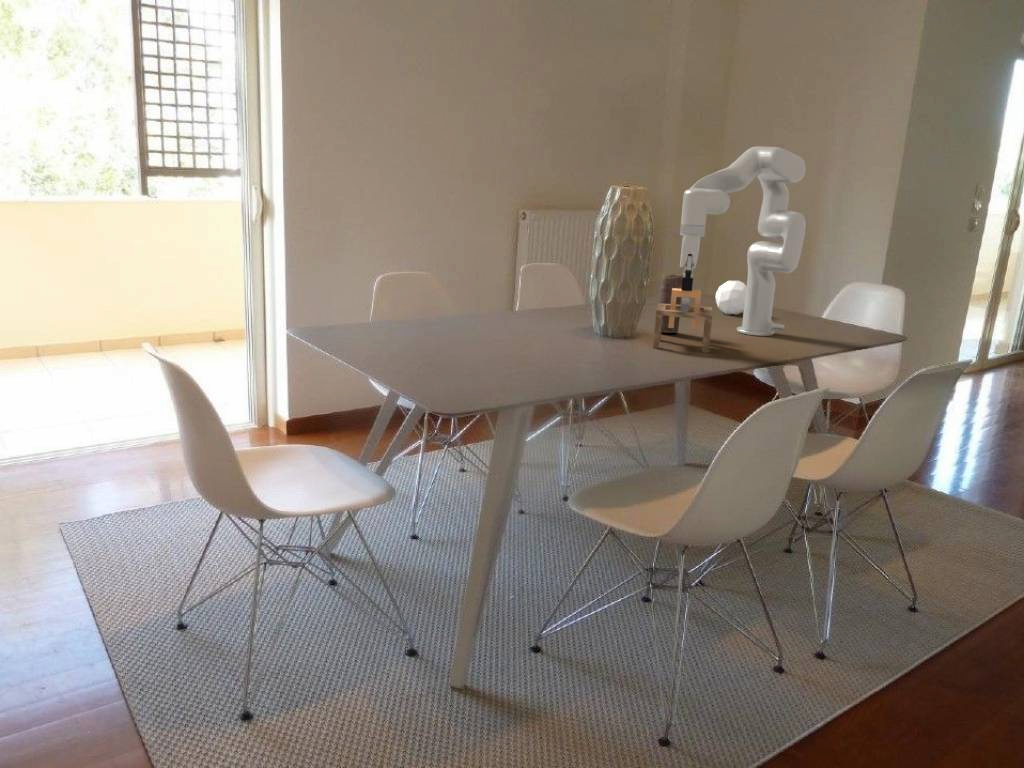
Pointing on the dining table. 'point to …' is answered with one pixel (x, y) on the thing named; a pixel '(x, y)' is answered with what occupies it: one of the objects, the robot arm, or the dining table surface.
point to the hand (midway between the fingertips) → (686, 288)
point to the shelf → (665, 311)
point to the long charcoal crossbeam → (685, 305)
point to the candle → (665, 298)
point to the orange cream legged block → (687, 294)
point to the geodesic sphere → (731, 297)
